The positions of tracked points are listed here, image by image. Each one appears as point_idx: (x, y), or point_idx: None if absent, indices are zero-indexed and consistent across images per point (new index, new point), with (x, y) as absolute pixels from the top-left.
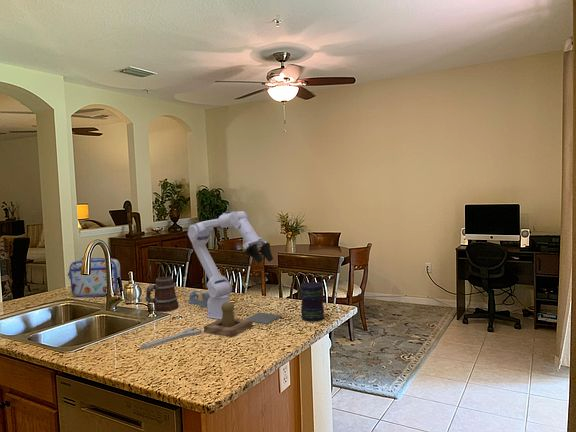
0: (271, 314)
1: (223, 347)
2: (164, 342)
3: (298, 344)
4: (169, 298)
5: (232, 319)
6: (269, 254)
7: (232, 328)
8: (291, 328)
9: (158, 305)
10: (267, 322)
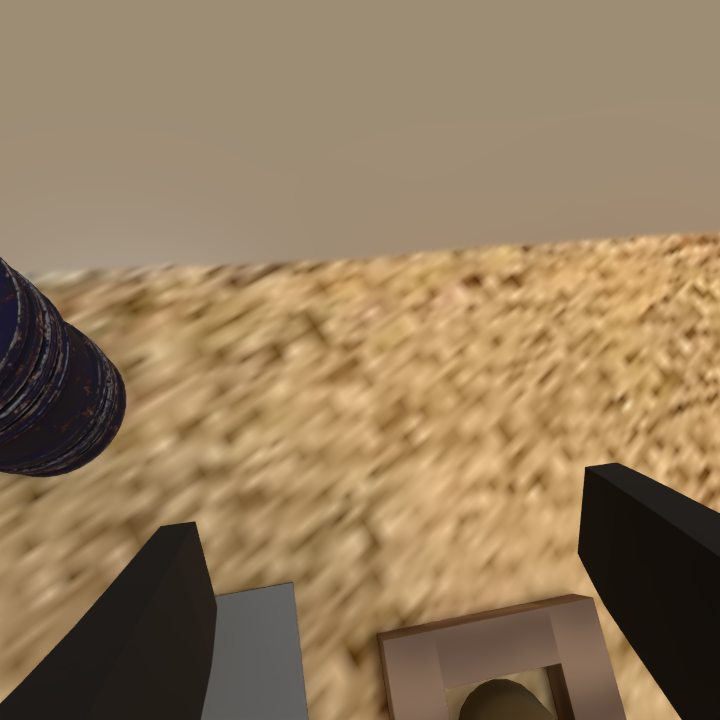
0: None
1: None
2: None
3: (437, 258)
4: None
5: (527, 712)
6: (156, 639)
7: (562, 633)
8: (277, 407)
9: None
10: (279, 591)
